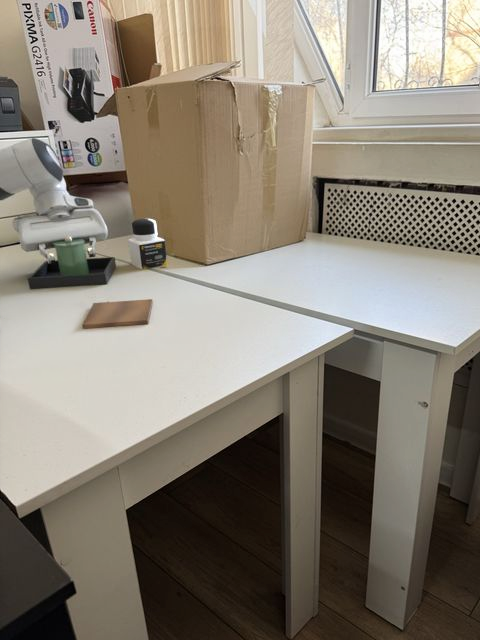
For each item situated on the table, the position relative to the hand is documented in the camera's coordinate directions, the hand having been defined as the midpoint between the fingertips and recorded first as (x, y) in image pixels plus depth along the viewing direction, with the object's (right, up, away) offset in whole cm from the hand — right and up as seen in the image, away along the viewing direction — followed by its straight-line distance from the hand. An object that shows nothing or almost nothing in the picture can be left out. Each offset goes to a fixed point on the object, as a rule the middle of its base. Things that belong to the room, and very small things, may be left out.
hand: (72, 258), depth 121 cm
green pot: (0, -4, +2) cm, 5 cm away
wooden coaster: (+17, -15, -20) cm, 30 cm away
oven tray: (0, -5, +3) cm, 5 cm away
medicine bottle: (+16, 0, +11) cm, 19 cm away
